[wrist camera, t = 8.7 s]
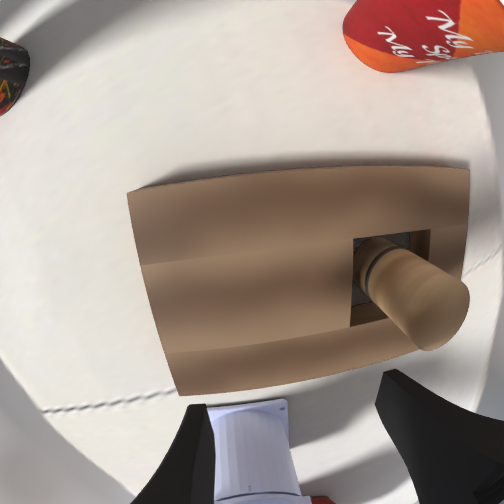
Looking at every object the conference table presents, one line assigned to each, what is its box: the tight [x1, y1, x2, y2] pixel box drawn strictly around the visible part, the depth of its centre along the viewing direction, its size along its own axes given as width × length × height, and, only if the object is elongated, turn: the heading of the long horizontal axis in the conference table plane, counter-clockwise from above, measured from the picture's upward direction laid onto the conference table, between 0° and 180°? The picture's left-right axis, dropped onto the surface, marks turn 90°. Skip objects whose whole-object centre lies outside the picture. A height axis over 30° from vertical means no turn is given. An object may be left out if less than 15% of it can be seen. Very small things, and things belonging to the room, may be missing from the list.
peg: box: [352, 237, 470, 351], centre depth 16 cm, size 4×4×8 cm
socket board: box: [127, 165, 470, 396], centre depth 18 cm, size 14×22×2 cm, turn 96°
